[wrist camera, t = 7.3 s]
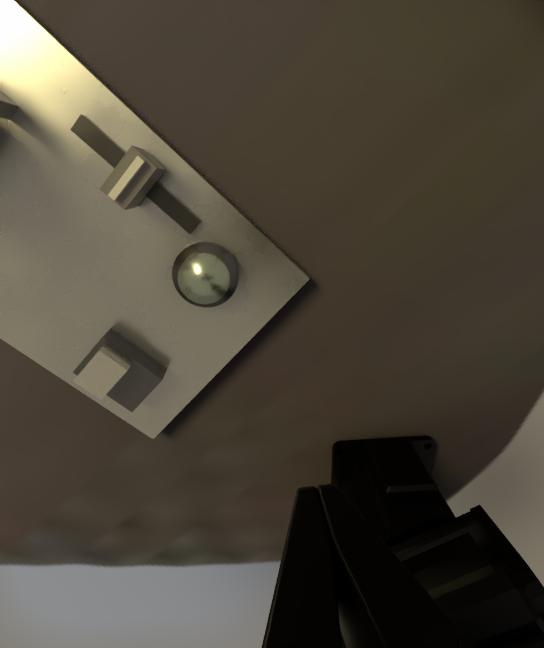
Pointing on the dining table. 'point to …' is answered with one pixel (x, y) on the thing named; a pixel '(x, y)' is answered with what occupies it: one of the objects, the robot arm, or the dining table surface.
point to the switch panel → (117, 243)
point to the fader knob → (132, 178)
